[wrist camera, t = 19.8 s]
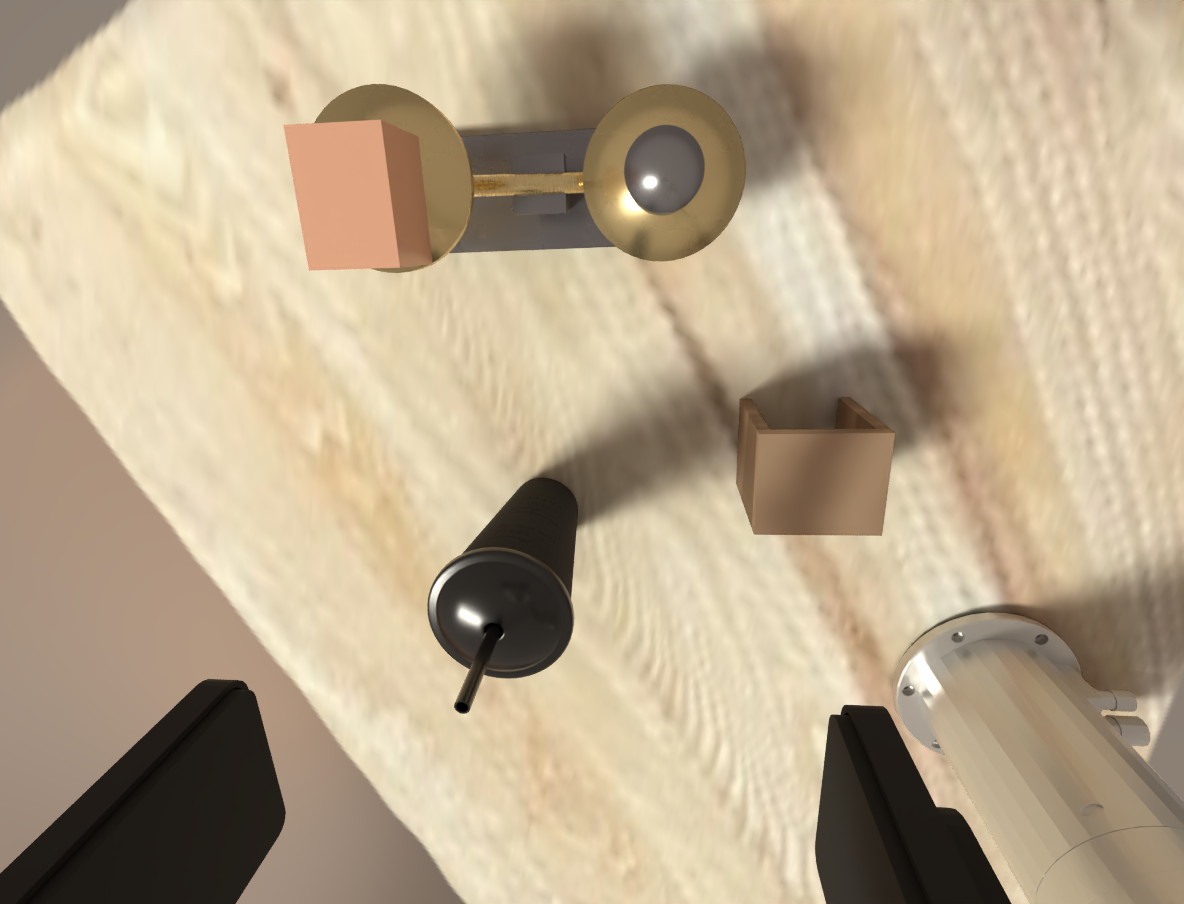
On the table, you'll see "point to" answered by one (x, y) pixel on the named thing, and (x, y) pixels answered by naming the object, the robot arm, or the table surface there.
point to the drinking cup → (510, 590)
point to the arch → (815, 474)
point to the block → (359, 195)
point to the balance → (571, 175)
